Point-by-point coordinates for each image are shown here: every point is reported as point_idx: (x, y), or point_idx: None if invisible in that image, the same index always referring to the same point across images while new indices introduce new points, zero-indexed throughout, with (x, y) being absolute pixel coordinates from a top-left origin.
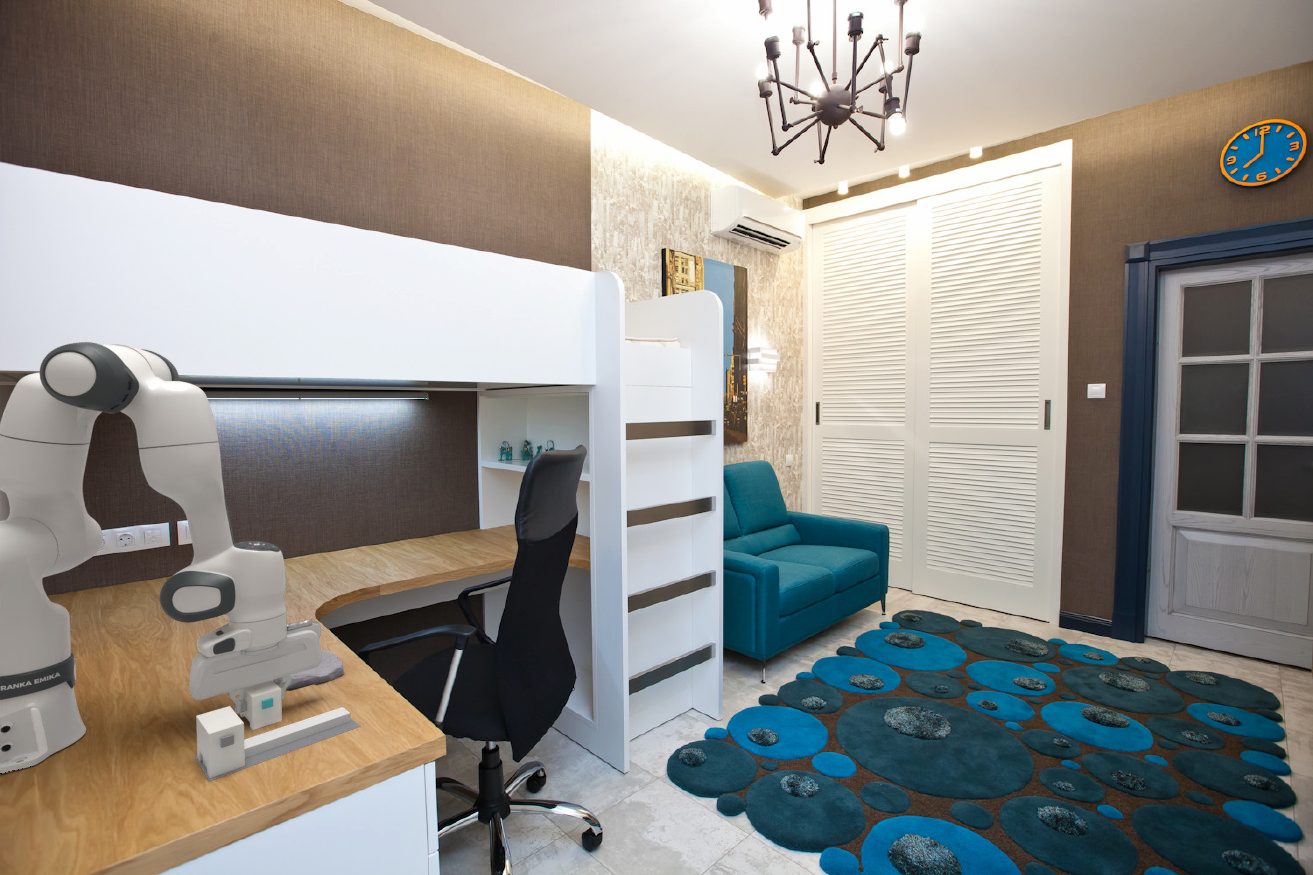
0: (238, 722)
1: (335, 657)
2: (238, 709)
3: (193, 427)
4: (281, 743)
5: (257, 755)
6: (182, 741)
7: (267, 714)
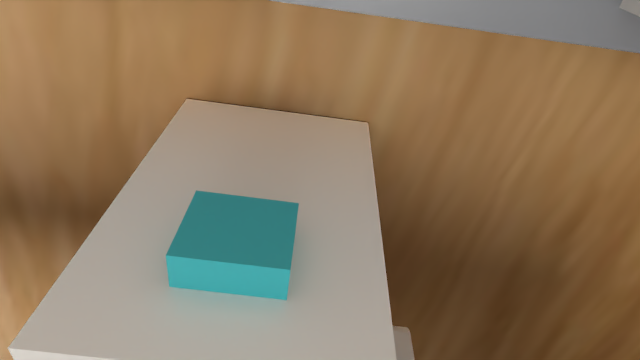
0: None
1: None
2: (406, 350)
3: None
4: None
5: None
6: (577, 326)
7: (258, 177)
